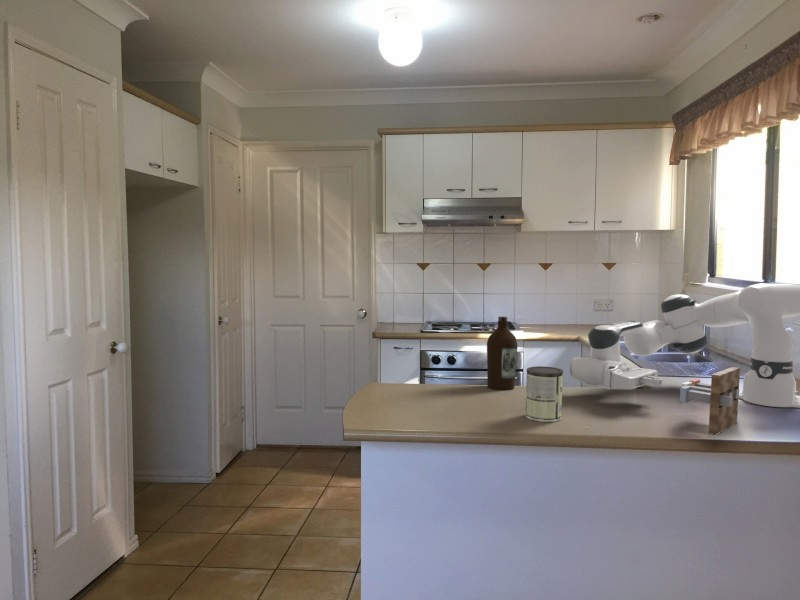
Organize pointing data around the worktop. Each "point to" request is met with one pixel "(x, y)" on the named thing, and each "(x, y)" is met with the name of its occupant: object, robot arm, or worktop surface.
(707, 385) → the brick-red plunger
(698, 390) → the off-white plunger
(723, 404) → the blue-capped grey rod
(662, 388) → the worktop surface
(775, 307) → the robot arm
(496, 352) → the olive oil
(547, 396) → the coffee can
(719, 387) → the walnut panel
